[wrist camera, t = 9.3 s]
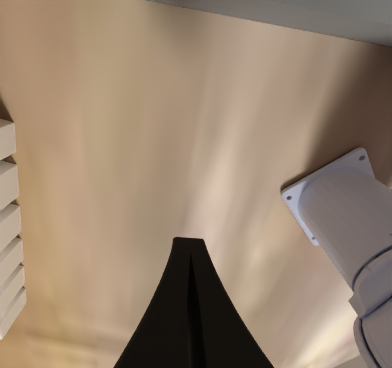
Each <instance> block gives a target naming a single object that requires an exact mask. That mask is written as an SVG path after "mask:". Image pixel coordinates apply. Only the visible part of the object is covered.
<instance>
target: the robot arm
mask: <svg viewBox="0 0 392 368" xmlns="http://www.w3.org/2000/svg"><path fill="white" fill-rule="evenodd" d="M361 156H362V157H361ZM360 157H361V158H360ZM359 158H360V159H359ZM281 196H282V198H283V199H284V201H285V202H286V204H287V205H288V207H289V208H290V210H291V211H292V213H293V214H294V216H295V218H296V219H297V221H298V222H299V224H300V225H301V227H302V228H303V230H304V231H305V233H306V234H307V236H308V238H309V239H310V241H311V242H312V244H313V245H315V246H316V245H320V246H321V247H322V249H323V250H324V251H325V253H326V254H327V256H328V257H329V258H330V260H331V261H332V263H333V264H334V265H335V267H336V268H337V270H338V271H339V273H340V274H341V275H342V277H343V278H344V280H345V281H346V282H347V284H348V285H349V287H350V288H351V289H352V291H353V292H354V294H353V296H352V297H351V298H350V299H349V303H350V304H351V306H352V307H353V309H354V310H355V312H356V313H357V315H358V317H357V318H356V320H355V322H354V327H353V330H354V337H355V341H356V344H357V346H358V349H359V352H360V354H361V356H362V357H363V360H364V362H365V363H366V365H367V367H368V368H392V189H391V188H389V187H387V186H386V185H384V184H383V183H381V182H380V181H378V180H377V179H375V176H374V173H373V170H372V167H371V164H370V161H369V158H368V155H367V152H366V150H365V149H364V148H362V147H359V148H356V149H354V150H353V151H351V152H349V153H347V154H346V155H344V156H342V157H340V158H338V159H337V160H335V161H333V162H331V163H330V164H328V165H326V166H324V167H323V168H321V169H319V170H317V171H315V172H314V173H312V174H310V175H308V176H307V177H305V178H303V179H301V180H300V181H298V182H296V183H294V184H292V185H291V186H289V187H287V188H285V189H284V190H282V192H281ZM288 196H290V197H289V198H287V197H288ZM114 368H274V367H273V365H272V364H271V363H270V361H269V360H268V358H267V357H266V356H265V354H264V353H263V351H262V350H261V349H260V347H259V346H258V344H257V343H256V341H255V340H254V338H253V336H252V335H251V333H250V332H249V330H248V329H247V327H246V325H245V324H244V322H243V321H242V319H241V317H240V316H239V314H238V312H237V311H236V309H235V307H234V305H233V303H232V302H231V300H230V298H229V296H228V294H227V292H226V290H225V289H224V287H223V285H222V282H221V280H220V278H219V276H218V274H217V272H216V270H215V268H214V265H213V263H212V261H211V258H210V256H209V253H208V251H207V248H206V245H205V242H204V240H203V239H198V238H183V237H175V238H173V245H172V249H171V253H170V256H169V259H168V262H167V265H166V268H165V270H164V273H163V275H162V278H161V280H160V283H159V285H158V287H157V289H156V291H155V293H154V296H153V298H152V300H151V302H150V304H149V306H148V308H147V310H146V312H145V314H144V316H143V318H142V319H141V321H140V323H139V325H138V327H137V329H136V330H135V332H134V334H133V336H132V337H131V339H130V341H129V343H128V344H127V346H126V348H125V349H124V351H123V353H122V355H121V356H120V358H119V359H118V361H117V363H116V364H115V366H114Z"/></svg>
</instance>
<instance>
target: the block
mask: <svg viewBox="0 0 392 368" xmlns="http://www.w3.org/2000/svg"><path fill="white" fill-rule="evenodd" d="M148 1H153V2H159V3H164V4H169V5H174V6H179V7H185V8H190V9H195V10H200V11H206V12H211V13H216V14H221V15H227V16H232V17H237V18H242V19H248V20H253V21H258V22H263V23H268V24H274V25H279V26H284V27H289V28H295V29H300V30H305V31H310V32H316V33H321V34H326V35H331V36H337V37H342V38H347V39H352V40H357V41H363V42H368V43H373V44H378V45H384V46H389V47H392V0H148Z"/></svg>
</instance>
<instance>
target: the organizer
mask: <svg viewBox="0 0 392 368" xmlns="http://www.w3.org/2000/svg"><path fill="white" fill-rule="evenodd" d="M15 152H16V141H15V126H14V122H10V121H7V120H4V119H1V118H0V339H1V340H2V339H3V337H4V336H5V334H6V333H7V331H8V330H9V328H10V327H11V325H12V324H13V322H14V321H15V319H16V318H17V316H18V315H19V313H20V312H21V310H22V309H23V307H24V306H25V304H26V290H25V288H22V286H23V285H24V283H25V275H24V266H21V265H19V264H20V263H21V261H22V260H23V245H22V239H20V238H15V237H16V236H17V235H18V234H19V233H20V232H21V231H22V230H21V215H20V206H18V205H13V204H10V203H11V202H12V201H13V200H14V199H16V198H17V197H18V196H19V186H18V171H17V165H16V164H12V163H8V162H5V161H1V160H2V159H4V158H6V157H8V156H9V155H11V154H13V153H15Z"/></svg>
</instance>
